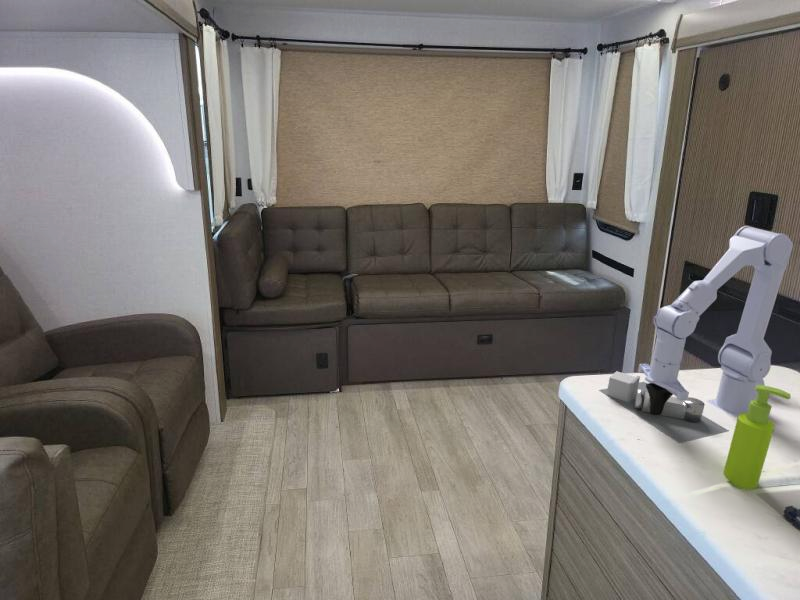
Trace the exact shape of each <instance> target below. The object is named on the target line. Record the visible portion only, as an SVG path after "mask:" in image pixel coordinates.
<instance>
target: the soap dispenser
mask: <svg viewBox="0 0 800 600" xmlns="http://www.w3.org/2000/svg"><path fill="white" fill-rule="evenodd" d="M756 391H758V395H757V399H756V400H751V401H750V404H749V408H748V412H747V413H741V414H739V415H737V419H736V423H735V426H734V427H735V428H734V431H733V434H732V438H731V442H730V447H729V450H728V453H727V456H726V457H727V458H726V462H725V465H724V469H723V476H724V477H725V478H726V479H727V483H728V484H730V485H732V486H734V487H736V488H738V489H742V490H749V491H750V490H751V491H752V490H755V489H757V488H758V485H759V482H760V479H761V476H762V475H761V474H762V472H763V469H764V465H765V461H766V457H767V454H768V451H769V447H770V444H771V441H772V438H773V433H774V429H775V423H774V422H773V421H772V420H770V419H769V417H770V414H771V410H772V406H771V404H770V403H769V402H768V400H769V396H770V395H774V396H778V397H781V398H783V399H785V400H789V399H791V393H790V392H787V391H785V390H782V389H779V388H777V387H772V386H767V385H765V386H763V385H756Z"/></svg>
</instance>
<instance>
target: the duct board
mask: <svg viewBox="0 0 800 600" xmlns="http://www.w3.org/2000/svg"><path fill="white" fill-rule="evenodd" d="M640 379H641V376H639V375H637V376H634V375H631V374H626V373H624V372H620V371H618V370H616V371H615V372H614V373H613V374H611V376H610V377H609V380H608V384H607V388H603V389H599V390H598V391H599V392H600V393H602V394H604V395H605V396H606V397H608V398H609V399H611V400H613V401H614V402H616V403H617V404H618V405H620V406H622V407H624V408H625V409H626V410H627V411H629V412H631V413H633V414H634V415H636V416H637V417H638V418H640V419H641V420H643V421H645V422H646V423H648V424H649V425H651V426H653V427H654V428H655V429H657V430H658V431H660V432H661V433H663V434H665V436H668V437H669V438H671V439H672V440H674V441H675V442H676V443H678V444H681V443H686V442H690V441H695V440H699V439H702V438H707V437H710V436H715V435H718V434H723V433H727V432H729V431H730V430H729V429H727V428H725V427H724V426H722V425H721V424H719V423H716V422H714V421H713V420H712V419H709V418H708V417H706V416H704V415H703V414H702V418H701V421H700V422H696V423H695V422H689V421H686V420H684V419H679V418H674V417H669V416H663V415H652V414H651V413H648V412H642V409H638V408H634V401H635V394H636V390H637V389H643V390H645V392H648V390H647V388H646V384H647V383H648V382H647V381H640Z"/></svg>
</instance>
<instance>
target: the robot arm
mask: <svg viewBox="0 0 800 600" xmlns="http://www.w3.org/2000/svg"><path fill="white" fill-rule="evenodd" d="M728 242H729V243H728V249H727V250H726V252H725V253H724V254H723V256H722V257H721V258H720V259H719V260H718V262H717V263H716V264H715V265H714V266H713V267H712V269H710V271H709V272H708V273H707V274H706V276H705V277H704V278H703V279H702V280H700V279H699V280H694V281H693V282H692V283H691V284H689V286H688V287H687V288H686V289H685V290H684V291H683V292H682V293H680V295H679V296H678V297H677V298H676V299H675V300H674V301H673V302H672V303H671V304H670V305H665V306H663V307H661V308H659V310H658V311H657V313H656V315H655V316H653V325H654V326H655V332H654V334H655V335H656V339H655V345H654V350H653V355H652V360H651V365H650V364H648V363H639V365H638V370H637V371H638V373H640V374H644V375H645V378H644V381H645V382H646V383H647V384H646V388H647V390H648V393H649V397H650V402H651V405H650V413H651V414H652V415H661V413H662V411H663V408H664V405H665V403H666V402H667V400H668V399H669V398H670V397H673V395H674V397H676V398H677V399H678V400H679V401H684V400H687V399H688V397H689V394H690V391H688V390H686V388H685V387H684V386H683V384H682V383H681V382H680V381H679V379H678V378H679V372H680V369H681V368H680V367H681V363H682V358H683V355H684V354H683V353H684V350H685V349H684V348H685V345H686V339H687V337H689V336H690V335H691V334H693V333H694V331H695V329H696V327H697V324H698V322H699V320H700V316H701V315H703V313H704V312H705V311H706V310H707V309H708V308H709V307H710V306H711V305H712V304H713V303H714V302H715V301H716V300H717V297H718V294H717V293H718V290H719V289H720V288H721V287H722V286H723V285H724V284H725V283H727V282H728V281H729V280H730V279H731V278H732V277H734V276H735V275H736V274H737V273H738V272H739V271H740V270H741V269H743V267H753V268H754V274H753V278H752V280H751V284H750V288H749V291H748V293H747V297H746V301H745V305H744V308H743V312H742V314H741V318H740V322H739V325H738V329H737V331H736V333H735V334H731V335H730V336H727V337H726V338H725V340H724V343H723V345H722V346H721V348H720V349H719V352H718V354H717V361H718V363H719V364H720V365H721V366H720V370H722V374H721V376H720V377H721V378H720V382H719V386H718V390H717V395H716V398H712V399H709V400H707V401H706V402H707V403H709V404H711V405H713V406H715V408H718V409H720V410H722V411H723V412H725V413H727V414H729V415H731V416H733V417H737V418H738V415H739V414H741V413H747V412H748V408H749V404H750V401H751V400H756V399H757V395H758V391H756V385H763V386H766V385H765V380H764V378H766V377H767V376H768V374H769V372H770V370H771V366H772V363H771V358H772V353H773V351H772V349H771V348H770V347H769V345H768V343H767V342H766V341H765V339H764V338H765V335H766V332H767V328H768V325H769V322H770V318H771V315H772V312H773V309H774V306H775V302H776V299H777V295H778V293H779V289H780V286H781V284H782V279H783V277H784V273H785V270H787V268H788V263H789V261H790V257H791V253H792V252H793V248H794V243H793V242H792V240H791V239H790V237H789V236H788V235H787V234H785V233H779V232H778V233H777V232H774V231H769V230H764V229H760V228H756V227H753V226H750V225H744V226H742V227H740V228H739V229H738V230H737V231H736V232H735V233H734V235H733V236H731V237H730V239H729V240H728Z"/></svg>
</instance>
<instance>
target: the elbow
mask: <svg viewBox="0 0 800 600" xmlns="http://www.w3.org/2000/svg"><path fill="white" fill-rule="evenodd" d="M650 405H651V402H650V397H649V393H648V392H645V390H643V389H637V390H636V394H635V401H634V408H638V409H642V412H648V413H650ZM704 408H705V402H704V401H702V400H701V399H698V398H696V397H689V396H688V399H687V400H684V401H679V400H678V399H677V397H676V396H671V397H670V398H669V399H668V400H667V402H666V403H665V405H664V408H663V411H662V413H661V415H663V416H669V417H674V418H679V419H684V420H686V421H689V422H695V423H696V422H700V421H701V418H702V415H703V413H704V410H705V409H704Z"/></svg>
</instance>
